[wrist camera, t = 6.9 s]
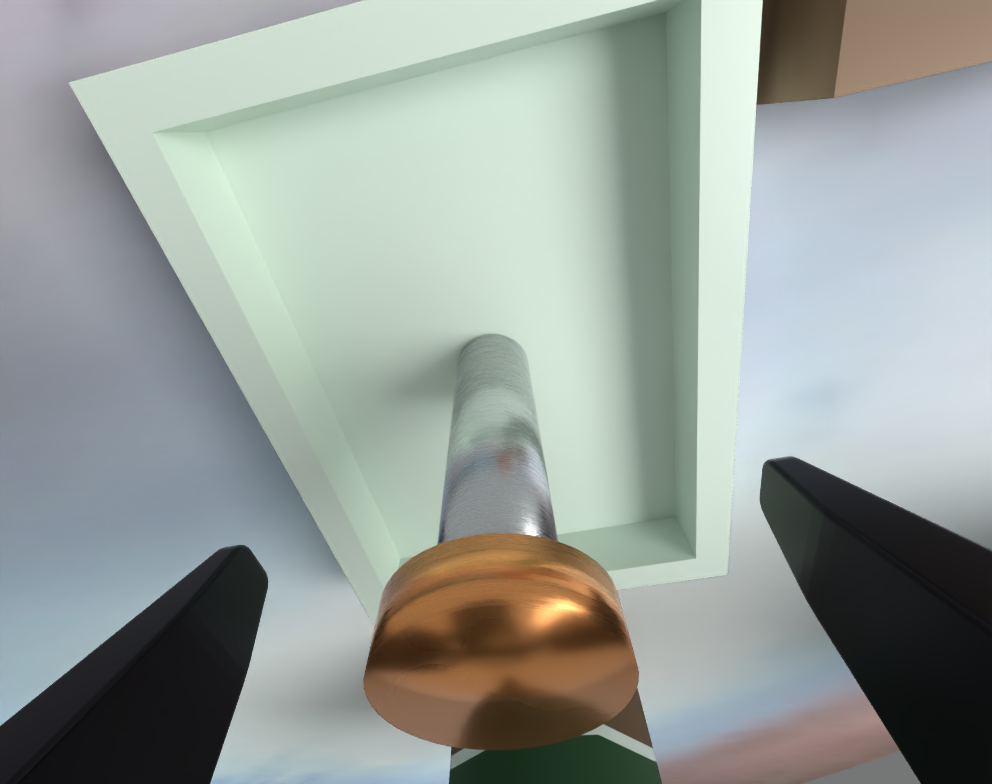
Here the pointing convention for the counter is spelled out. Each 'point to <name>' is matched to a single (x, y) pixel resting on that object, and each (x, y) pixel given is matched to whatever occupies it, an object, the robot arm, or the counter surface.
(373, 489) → the tray
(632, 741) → the beer bottle
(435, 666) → the pin
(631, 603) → the counter surface
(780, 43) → the block
